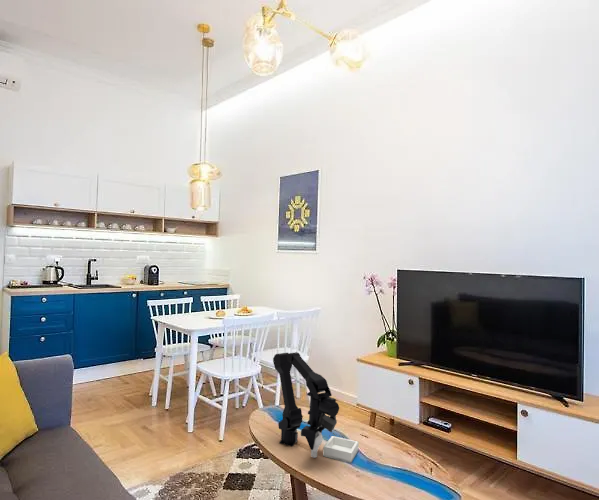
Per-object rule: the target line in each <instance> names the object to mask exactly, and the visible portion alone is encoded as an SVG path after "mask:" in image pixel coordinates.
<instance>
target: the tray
mask: <svg viewBox="0 0 599 500" xmlns="http://www.w3.org/2000/svg"><path fill="white" fill-rule="evenodd" d="M322 449H323V451H322V452H323V454H322V456H323V457H325V458H329V459H333V460H336V461H337V460H338V461H341V462H345V463H348V464H351V463H352V462H353V460H354V459H355V457H356V455H357V454H358V452H359V441H356V440H352V439H350V438H349V439H348V438H345V437H344V438H343V437H341V436H336V435H335V436H330V438H329V439H328V440H327V442H326V443H325V444H324V445H323V448H322Z"/></svg>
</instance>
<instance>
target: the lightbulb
mask: <svg viewBox="0 0 599 500" xmlns="http://www.w3.org/2000/svg"><path fill="white" fill-rule="evenodd" d="M318 434H319V436H318V437H317V438H316V439H315V444H314V448H313V450H311V449H310V457H311V458H313V459H315V458H317V457H318V451H319V448H320V446H321V445H322V443H323V440H324V439H323V437H324V436H323V434H322V433H320V432H319V431H318Z"/></svg>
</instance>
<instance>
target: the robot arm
mask: <svg viewBox="0 0 599 500" xmlns="http://www.w3.org/2000/svg"><path fill="white" fill-rule="evenodd" d="M272 362H273V365H274V369H275V370H276V372H277V373H278V374H279V379H280V380H279V381H280V385H281V391H282V393H281V394H282V398H283V404H284V408H283V412H282V413H281V414H282V419H281V420H280V421H279V422H278V424H277V425H278V429H279V430H281V432H280V433H281V434H280V441H279V443H278V444H282V445H286V446H290V447H293V446H294V445H295V444H296V443H297V442H298V439H299V438H298V435H299V433H298V431H297V430H298V429H300V427H301V425H302V423H303V418H304V416H303V413H302V408H301V407H298V406H297V404H296V399H295V392H294V387H293V382H292V381H293V380H292V376H291V371H292V367H294V368H295V370H297V372H298V373H299V374H300V375H301V377H302V378H303V379H304V381H305V385H306V387H307V389H308V390H309V392H307V393H306V396H308V397H309V398H310V399H309V410H308V411H307V415H309V416H308V421H307V423H306V424H307V425H305V426H304V427H303V428H302V429H300V436H301V437H305V439H306V441H307V443H308V446H309V449H310V451H311V450H313V448H314V444H315V439H316V438H317V437H318V436H319V434H318V431H319V432H320V433H321V434H322V433H323V431H324V430H327V431H328V432H333V431H334V429H335V427H336V426H337V422H338V420H337V415H338V414H339V411H340V406H339V403H338V402H337V399H336V398H332V395H333V394H332V392H331V389H330V386H329V384H328V381H327V380H326V379H325V377H324V376H323V375H321V374H319V373H317V372H315V371H314V370H313V369H312V368H311V367H310V365H308V363H307V362H306V361H305V359H304V358H303V357H302V356H301V354H300V353H299V352H295V351H294V352H290V353H289V352H282V353H281V352H280V353H276V354H274V356H273V357H272Z"/></svg>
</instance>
